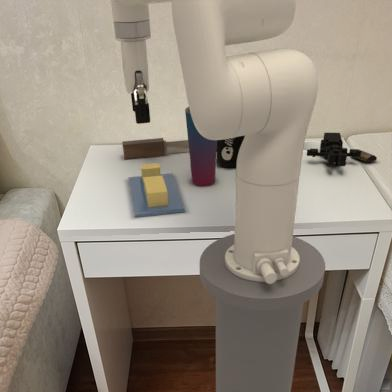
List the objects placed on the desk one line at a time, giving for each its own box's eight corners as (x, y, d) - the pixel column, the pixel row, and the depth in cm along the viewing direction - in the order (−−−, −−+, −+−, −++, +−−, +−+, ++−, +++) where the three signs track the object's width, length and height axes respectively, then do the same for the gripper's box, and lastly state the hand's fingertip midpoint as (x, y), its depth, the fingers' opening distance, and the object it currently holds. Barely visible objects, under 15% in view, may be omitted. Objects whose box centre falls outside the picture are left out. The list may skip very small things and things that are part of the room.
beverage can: (213, 167, 116) (212, 112, 108) (221, 157, 120) (221, 103, 112) (240, 170, 114) (242, 114, 106) (247, 159, 119) (249, 105, 111)
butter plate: (184, 212, 99) (184, 208, 99) (134, 217, 98) (134, 213, 98) (172, 176, 112) (172, 172, 112) (128, 180, 111) (127, 177, 111)
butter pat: (161, 180, 109) (160, 167, 107) (143, 182, 108) (141, 169, 106) (159, 176, 111) (158, 162, 109) (142, 178, 110) (140, 164, 108)
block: (366, 165, 114) (367, 157, 113) (348, 157, 118) (349, 149, 117) (377, 161, 115) (379, 153, 114) (359, 153, 119) (360, 146, 118)
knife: (123, 155, 123) (122, 141, 120) (199, 148, 125) (199, 134, 122) (124, 159, 121) (122, 144, 118) (201, 152, 123) (200, 137, 121)
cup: (223, 177, 111) (224, 105, 101) (211, 189, 106) (210, 115, 96) (196, 173, 113) (193, 102, 103) (182, 185, 109) (179, 112, 99)
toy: (310, 154, 108) (306, 128, 118) (307, 176, 111) (304, 148, 122) (367, 155, 106) (358, 129, 117) (362, 177, 110) (354, 149, 120)
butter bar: (168, 205, 100) (167, 191, 98) (148, 207, 99) (147, 193, 97) (163, 189, 106) (162, 175, 104) (144, 190, 105) (143, 177, 103)
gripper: (112, 25, 111) (123, 108, 122) (116, 38, 98) (127, 129, 109) (146, 23, 111) (153, 105, 123) (154, 35, 98) (161, 126, 110)
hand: (141, 116), depth 116 cm, fingers open, 9 cm apart
